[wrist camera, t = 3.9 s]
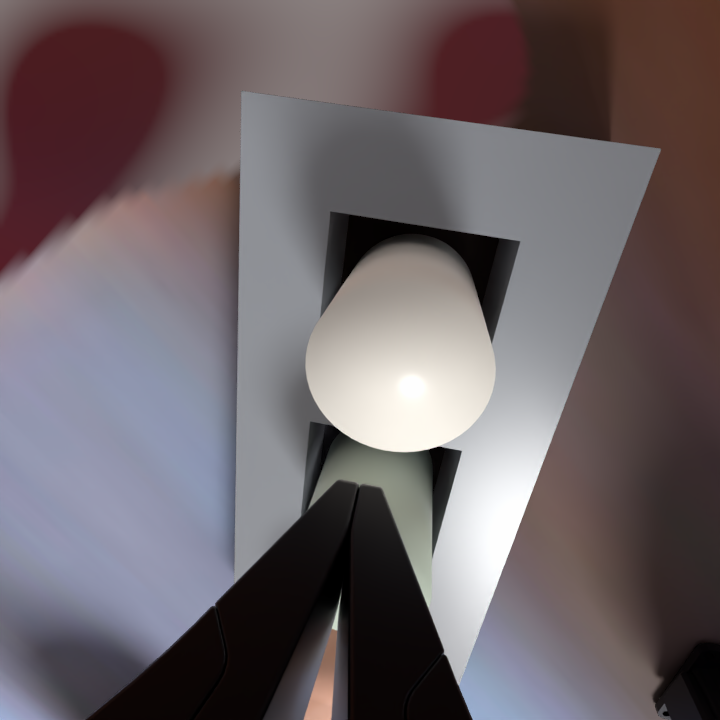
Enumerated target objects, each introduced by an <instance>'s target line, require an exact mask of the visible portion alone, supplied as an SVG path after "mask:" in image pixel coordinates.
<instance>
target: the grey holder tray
mask: <svg viewBox="0 0 720 720" xmlns="http://www.w3.org/2000/svg"><path fill="white" fill-rule="evenodd" d="M660 151H661V149H659V148H651V147H644V146H637V145H630V144H623V143H615V142H608V141H601V140H594V139H586V138H579V137H572V136H565V135H558V134H550V133H543V132H536V131H529V130H521V129H514V128H507V127H500V126H492V125H485V124H478V123H471V122H463V121H456V120H449V119H442V118H435V117H428V116H420V115H413V114H406V113H399V112H391V111H384V110H376V109H369V108H362V107H355V106H348V105H340V104H333V103H326V102H319V101H312V100H304V99H297V98H290V97H282V96H276V95H268V94H261V93H254V92H246V91H241V154H240V155H241V156H240V223H239V291H238V359H237V428H236V496H235V565H234V584H235V583H236V582H237V580H238V579H239V578H240V577H241V576H242V575H243V574H244V573H245V572H246V571H247V570H248V569H249V568H250V567H251V566H252V565H253V564H254V563H255V562H256V561H257V560H258V559H259V558H260V557H261V556H262V555H263V554H264V553H265V552H266V551H267V550H268V549H269V548H270V547H271V546H272V545H273V544H274V543H275V542H276V541H277V540H278V539H279V538H280V537H281V536H282V535H283V534H284V533H285V532H286V531H287V530H288V529H289V528H290V527H291V526H292V525H293V524H294V523H295V522H296V521H297V520H298V519H299V518H300V517H301V516H302V515H303V514H304V513H305V512H306V511H307V510H308V508H309V505H310V503H311V500H312V497H313V494H314V491H315V488H316V486H317V483H318V480H319V477H320V476H319V474H320V466H321V457H322V448H323V439H324V431H325V424H327V425H332V426H334V425H333V424H332V423H331V422H330V421H329V420H328V419H327V418H326V417H325V415H324V414H323V413H322V411H321V410H320V409H319V407H318V405H317V404H316V402H315V400H314V398H313V396H312V394H311V391H310V389H309V385H308V381H307V376H306V368H305V363H306V351H307V345H308V342H309V339H310V336H311V333H312V331H313V329H314V327H315V325H316V324H317V322H318V321H319V319H320V318H321V316H322V315H323V313H324V312H325V310H326V309H327V307H328V306H329V304H330V303H331V301H332V300H333V299H334V297H335V296H336V294H337V293H338V291H339V290H340V288H341V283H342V274H343V265H344V257H345V248H346V239H347V230H348V222H349V214H351V215H357V216H363V217H370V218H376V219H382V220H389V221H395V222H402V223H408V224H414V225H421V226H427V227H433V228H440V229H446V230H452V231H459V232H465V233H471V234H478V235H484V236H490V237H497V238H499V241H498V245H497V249H496V253H495V257H494V261H493V264H492V268H491V272H490V276H489V280H488V284H487V288H486V292H485V296H484V299H483V303H482V307H481V309H482V312H483V316H484V319H485V323H486V326H487V330H488V333H489V337H490V340H491V344H492V348H493V352H494V356H495V366H496V373H495V383H494V387H493V392H492V394H491V397H490V400H489V402H488V404H487V406H486V408H485V409H484V411H483V413H482V414H481V415H480V417H479V418H478V419H477V421H476V422H475V423H474V424H473V425H472V426H471V427H470V428H469V429H467V430H466V431H465V432H464V433H462V434H461V435H460V436H458V437H456V438H455V439H453V440H451V441H450V442H447V443H445V444H443V445H441V446H440V447H445V451H444V455H443V459H442V463H441V466H440V470H439V474H438V478H437V482H436V486H435V490H434V494H433V498H432V598H431V603H430V606H429V611H430V614H431V616H432V619H433V622H434V624H435V627H436V629H437V632H438V635H439V637H440V640H441V643H442V645H443V648H444V655H446V656H447V658H448V660H449V663H450V665H451V668H452V671H453V673H454V676H455V678H456V681H457V684H458V686H459V684H460V681H461V678H462V676H463V673H464V670H465V668H466V665H467V663H468V660H469V657H470V655H471V652H472V649H473V647H474V644H475V641H476V639H477V636H478V633H479V631H480V628H481V625H482V623H483V620H484V617H485V615H486V612H487V609H488V607H489V604H490V602H491V599H492V596H493V594H494V591H495V588H496V586H497V583H498V580H499V578H500V575H501V572H502V570H503V567H504V564H505V562H506V559H507V556H508V554H509V551H510V548H511V546H512V543H513V541H514V538H515V535H516V533H517V530H518V527H519V525H520V522H521V519H522V517H523V514H524V511H525V509H526V506H527V503H528V501H529V498H530V495H531V493H532V490H533V487H534V485H535V482H536V480H537V477H538V474H539V472H540V469H541V466H542V464H543V461H544V458H545V456H546V453H547V450H548V448H549V445H550V442H551V440H552V437H553V434H554V432H555V429H556V426H557V424H558V421H559V419H560V416H561V413H562V411H563V408H564V405H565V403H566V400H567V397H568V395H569V392H570V389H571V387H572V384H573V381H574V379H575V376H576V373H577V371H578V368H579V365H580V363H581V360H582V358H583V355H584V352H585V350H586V347H587V344H588V342H589V339H590V336H591V334H592V331H593V328H594V326H595V323H596V320H597V318H598V315H599V312H600V310H601V307H602V304H603V302H604V299H605V297H606V294H607V291H608V289H609V286H610V283H611V281H612V278H613V275H614V273H615V270H616V267H617V265H618V262H619V259H620V257H621V254H622V251H623V249H624V246H625V243H626V241H627V238H628V236H629V233H630V230H631V228H632V225H633V222H634V220H635V217H636V214H637V212H638V209H639V206H640V204H641V201H642V198H643V196H644V193H645V190H646V188H647V185H648V182H649V180H650V177H651V175H652V172H653V169H654V167H655V164H656V161H657V159H658V156H659V153H660Z"/></svg>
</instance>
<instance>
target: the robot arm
mask: <svg viewBox="0 0 720 720" xmlns="http://www.w3.org/2000/svg"><path fill="white" fill-rule="evenodd" d="M340 596H341V598H340ZM339 601H340V605H339ZM338 605H339V614H338V626H337V641H336V656H335V671H334V686H333V701H332V716H331V720H472V717H471V715H470V712H469V710H468V708H467V705H466V703H465V700H464V698H463V696H462V693H461V691H460V688H459V686H458V684H457V681H456V678H455V676H454V673H453V671H452V668H451V665H450V663H449V660H448V658H447V656H446V655H444V648H443V645H442V643H441V640H440V637H439V635H438V632H437V629H436V627H435V624H434V622H433V619H432V616H431V614H430V611H429V608H428V606H427V603H426V601H425V598H424V595H423V593H422V590H421V588H420V585H419V582H418V580H417V577H416V574H415V572H414V569H413V567H412V564H411V561H410V559H409V556H408V554H407V551H406V548H405V546H404V543H403V540H402V538H401V535H400V533H399V530H398V527H397V525H396V522H395V519H394V517H393V514H392V512H391V509H390V506H389V504H388V501H387V499H386V496H385V493H384V491H383V489H382V488H381V487H379V486H374V485H369V484H361V485H360V487H359V484H358V483H357V482H352V481H347V480H341V479H340V480H337V481H336V482H335V483H334V484H333V485H332V486H331V487H330V488H329V489H328V490H327V491H326V492H325V493H324V494H323V495H322V496H321V497H320V498H319V499H318V500H317V501H316V502H315V503H314V504H313V505H312V506H311V507H310V508H309V509H308V510H307V511H306V512H305V513H304V514H303V515H302V516H301V517H300V518H299V519H298V520H297V521H296V522H295V523H294V524H293V525H292V526H291V527H290V528H289V529H288V530H287V531H286V532H285V533H284V534H283V535H282V536H281V537H280V538H279V539H278V540H277V541H276V542H275V543H274V544H273V545H272V546H271V547H270V548H269V549H268V550H267V551H266V552H265V553H264V554H263V555H262V556H261V557H260V558H259V559H258V560H257V561H256V562H255V563H254V564H253V565H252V566H251V567H250V568H249V569H248V570H247V571H246V572H245V573H244V574H243V575H242V576H241V577H240V578H239V579H238V580H237V582H236V583H235V584H234V585H233V586H232V587H231V588H230V589H229V590H228V591H227V592H226V593H225V594H224V595H223V596H222V597H221V598H220V599H219V600H218V601H217V602H216V603H215V606H212V607H210V608H209V609H208V610H207V611H206V612H205V613H204V614H203V616H202V617H201V618H200V619H199V620H198V621H197V622H196V623H195V624H194V625H193V626H192V627H191V628H189V629H188V630H187V631H186V632H185V633H184V634H183V635H182V636H181V637H180V638H179V639H178V640H177V641H176V642H175V643H174V644H173V645H172V646H171V647H170V648H169V649H167V650H166V651H165V652H164V653H163V654H162V655H161V656H160V657H159V658H157V659H156V660H155V661H154V662H153V663H152V664H150V665H149V666H148V667H147V668H146V669H145V670H143V671H142V672H141V673H140V674H139V675H138V676H136V677H135V678H134V679H133V680H132V681H131V682H129V683H128V684H127V685H126V686H125V687H123V688H122V689H121V690H120V691H119V692H117V693H116V694H115V695H114V696H113V697H111V698H110V699H109V700H108V701H107V702H105V703H104V704H103V705H102V706H100V707H99V708H98V709H97V710H96V711H94V712H93V713H92V714H91V715H90V716H88V717H87V718H86V719H85V720H304V717H305V713H306V710H307V707H308V704H309V700H310V697H311V694H312V691H313V688H314V684H315V681H316V678H317V675H318V671H319V668H320V665H321V662H322V659H323V655H324V652H325V649H326V646H327V643H328V639H329V636H330V633H331V630H332V626H333V623H334V620H335V616H336V613H337V609H338ZM655 708H656V711H657V713H658V716H659V717H661V718H664V719H668V720H720V645H715V644H711V643H703V644H700V645H698V646H697V647H696V648H695V650H694V651H693V652H692V654H691V655H690V657H689V658H688V659H687V661H686V662H685V664H684V665H683V666H682V668H681V669H680V671H679V672H678V673H677V675H676V676H675V678H674V679H673V680H672V682H671V683H670V685H669V686H668V687H667V689H666V690H665V692H664V693H663V694H662V696H661V697H660V699H659V700H658V701H657V703H656V704H655Z"/></svg>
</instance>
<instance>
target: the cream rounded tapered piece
mask: <svg viewBox="0 0 720 720" xmlns="http://www.w3.org/2000/svg"><path fill="white" fill-rule="evenodd" d="M305 368H306V376H307V381H308V385H309V389H310V391H311V394H312V396H313V398H314V400H315V402H316V404H317V405H318V407H319V409H320V410H321V411H322V413H323V414H324V415H325V417H326V418H327V419H328V420H329V421H330V422H331V423H332V424H333V425H334V426H335V427H336V428H338V429H339V430H340V431H341V432H343V433H344V434H346V435H347V436H349V437H350V438H352V439H354V440H356V441H358V442H360V443H362V444H365V445H367V446H370V447H373V448H377V449H381V450H385V451H392V452H415V451H422V450H427V449H431V448H434V447H438V446H441V445H443V444H445V443H447V442H450V441H451V440H453V439H455V438H456V437H458V436H460V435H461V434H462V433H464V432H465V431H466V430H467V429H469V428H470V427H471V426H472V425H473V424H474V423H475V422H476V421H477V419H478V418H479V417H480V415H481V414H482V413H483V411H484V409H485V408H486V406H487V404H488V402H489V400H490V397H491V394H492V392H493V387H494V383H495V373H496V366H495V356H494V352H493V348H492V344H491V340H490V337H489V333H488V330H487V326H486V323H485V319H484V316H483V312H482V309H481V305H480V302H479V298H478V295H477V291H476V288H475V284H474V281H473V278H472V275H471V272H470V270H469V268H468V266H467V264H466V263H465V261H464V260H463V259H462V257H461V256H460V255H459V254H458V253H457V252H456V251H455V250H454V249H453V248H452V247H450V246H449V245H447V244H446V243H444V242H442V241H440V240H438V239H436V238H433V237H430V236H426V235H421V234H403V235H397V236H393V237H390V238H387V239H385V240H383V241H381V242H379V243H378V244H376V245H374V246H373V247H372V248H370V249H369V250H368V251H367V252H366V253H365V254H364V255H363V256H362V257H361V259H360V260H359V262H358V263H357V265H356V266H355V268H354V269H353V270H352V272H351V273H350V275H349V276H348V278H347V279H346V281H345V282H344V284H343V285H342V287H341V288H340V290H339V291H338V293H337V294H336V296H335V297H334V299H333V300H332V301H331V303H330V304H329V306H328V307H327V309H326V310H325V312H324V313H323V315H322V316H321V318H320V319H319V321H318V322H317V324H316V325H315V327H314V329H313V331H312V333H311V336H310V339H309V342H308V345H307V351H306V363H305Z"/></svg>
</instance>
